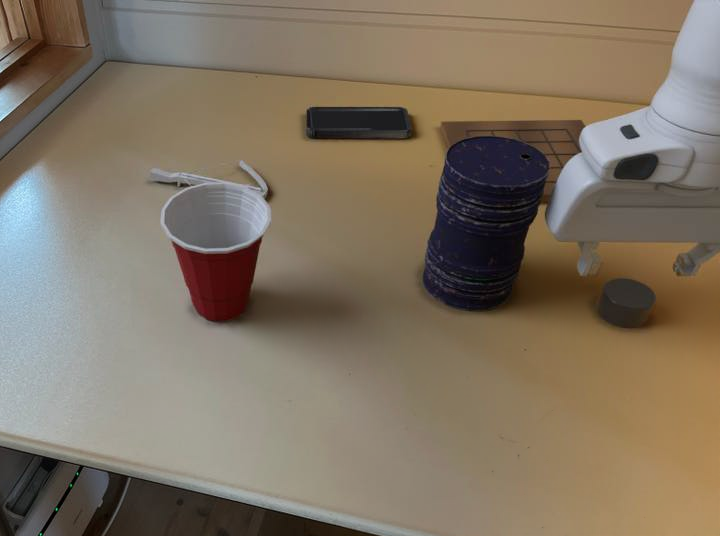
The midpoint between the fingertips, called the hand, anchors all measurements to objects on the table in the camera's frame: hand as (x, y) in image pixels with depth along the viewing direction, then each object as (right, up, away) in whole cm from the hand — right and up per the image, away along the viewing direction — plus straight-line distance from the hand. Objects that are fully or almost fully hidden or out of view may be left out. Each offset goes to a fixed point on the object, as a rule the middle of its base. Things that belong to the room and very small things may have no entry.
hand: (634, 272), depth 71 cm
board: (0, +18, +26) cm, 31 cm away
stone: (+1, -4, +3) cm, 5 cm away
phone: (-22, +26, +34) cm, 48 cm away
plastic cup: (-41, -3, +6) cm, 42 cm away
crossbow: (-44, +14, +23) cm, 51 cm away
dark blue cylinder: (-14, 0, +8) cm, 16 cm away
